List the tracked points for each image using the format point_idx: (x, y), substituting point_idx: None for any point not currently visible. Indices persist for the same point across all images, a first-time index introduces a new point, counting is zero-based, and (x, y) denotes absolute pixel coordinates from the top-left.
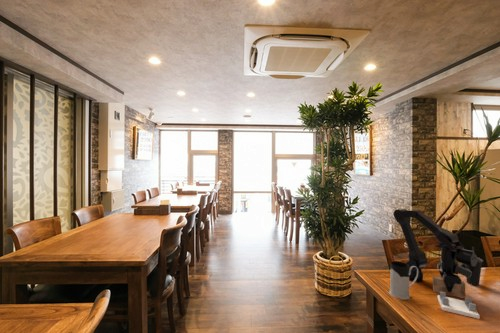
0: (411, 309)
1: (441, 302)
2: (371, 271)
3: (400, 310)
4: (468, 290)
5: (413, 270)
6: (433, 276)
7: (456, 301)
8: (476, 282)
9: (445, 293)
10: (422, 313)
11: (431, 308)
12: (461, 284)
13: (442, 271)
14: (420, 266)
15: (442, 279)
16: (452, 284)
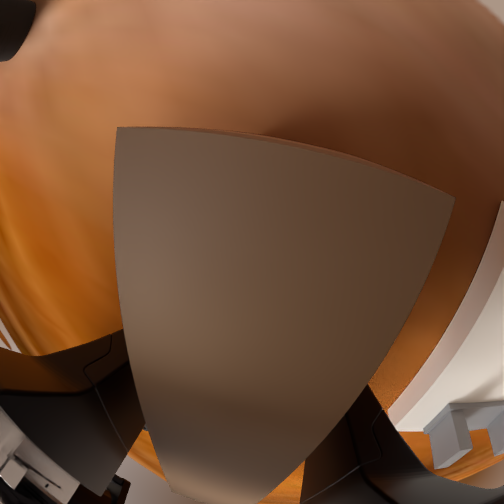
0: (458, 469)
1: (478, 425)
2: (157, 473)
3: (454, 480)
4: (101, 47)
5: (128, 482)
6: (191, 498)
7: (498, 349)
8: (17, 6)
9: (470, 448)
10: (487, 451)
11: (475, 436)
12: (388, 304)
13: (70, 496)
14: (96, 501)
15: (247, 497)
16: (393, 457)
